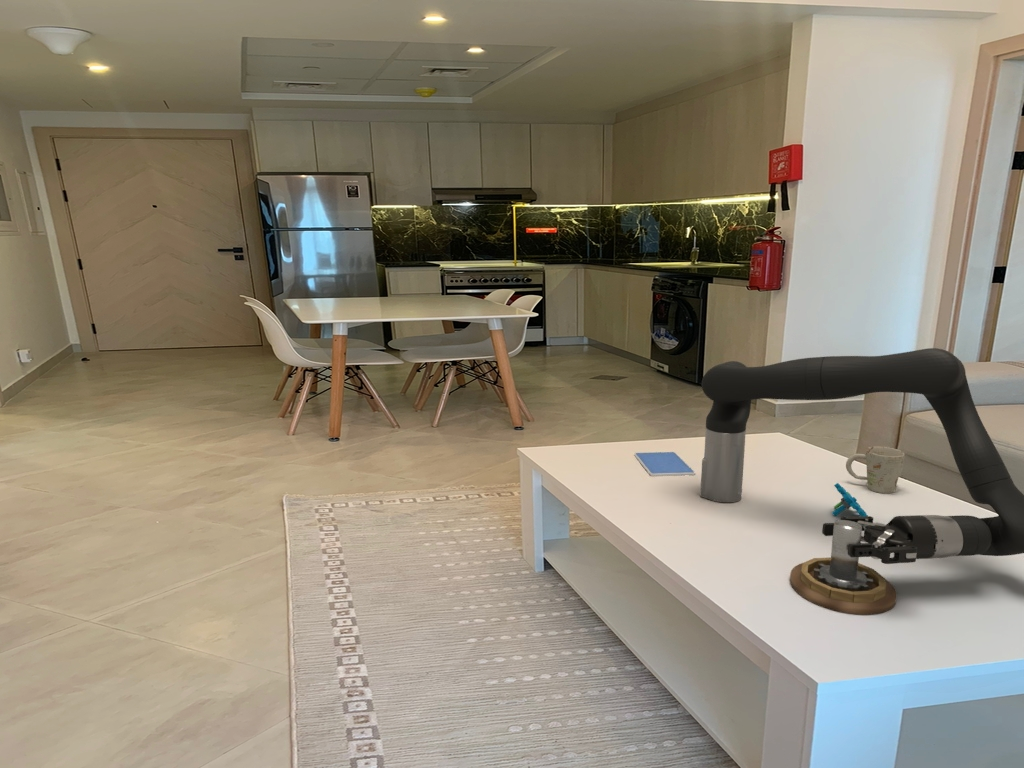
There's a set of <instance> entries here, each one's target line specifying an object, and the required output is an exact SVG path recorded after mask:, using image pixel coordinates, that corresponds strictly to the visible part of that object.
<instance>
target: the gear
mask: <svg viewBox="0 0 1024 768" xmlns="http://www.w3.org/2000/svg"><path fill="white" fill-rule="evenodd" d="M833 486H834V488H835V489H836V491H837V492H838V493H839V494H840V495H841V496H842V497H841V498H840V501H839V502H838V503H837V504H835V505H834V506H833V509H834V511H832V512H831V513H832V515H833V516H834V517H837V515H840V513H842V512H843V511H844V510H848V509H850V508H852V509H853V510H855V511H856V512H857V514H858V515H859V516H869V515H868V514H867V512H866V511H865V510H864V509H863V508H862V507H861V505H860V504H859V503H858V500H857V499H856V497H855V496H852V495H851V493H849V491H847V490H846V489H845V488H844V487H843V486H842V485H840V484H839V482H836V484H834V485H833Z"/></svg>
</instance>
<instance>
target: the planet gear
mask: <svg viewBox="0 0 1024 768" xmlns="http://www.w3.org/2000/svg"><path fill="white" fill-rule="evenodd" d="M833 523H834V529H833V536H832V540H831V542H832V543H831V552H830V558H831V560H830V565H824V564H819V566H818V569H815V568H814V576H813V578H816V579H817V581H818V582H821V583H823V584H825V585H827V586H830V587H832V588H837V589H842V590H847V591H852V592H855V591H869V589H872V585H873V579H868V573H867V572H865V571H864V572H860V571H858V563H859V562H860V561H859V560H860V557H850V556H849V555H848V546H849V544H855V543H861V542H862V541H861V535H862V532H863V531H862V526H861V525H860V524H858V523H856V522H853V521H848V520H840V519H838V520H835V521H834V522H833Z"/></svg>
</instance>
